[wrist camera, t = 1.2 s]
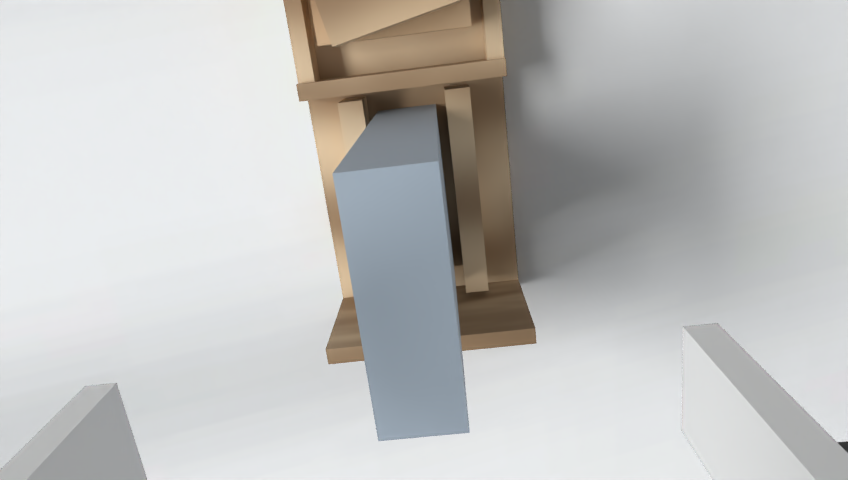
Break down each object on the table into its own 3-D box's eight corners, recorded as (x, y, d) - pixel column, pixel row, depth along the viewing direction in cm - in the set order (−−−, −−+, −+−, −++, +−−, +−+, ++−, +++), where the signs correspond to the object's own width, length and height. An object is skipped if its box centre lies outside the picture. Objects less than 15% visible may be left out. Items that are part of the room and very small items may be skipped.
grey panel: (378, 110, 31) (332, 173, 17) (435, 103, 31) (438, 161, 17) (401, 272, 34) (378, 441, 20) (454, 266, 34) (469, 432, 20)
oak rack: (269, -139, 29) (220, -192, 22) (481, -170, 28) (496, -233, 21) (347, 303, 36) (328, 364, 29) (516, 285, 35) (536, 343, 29)
